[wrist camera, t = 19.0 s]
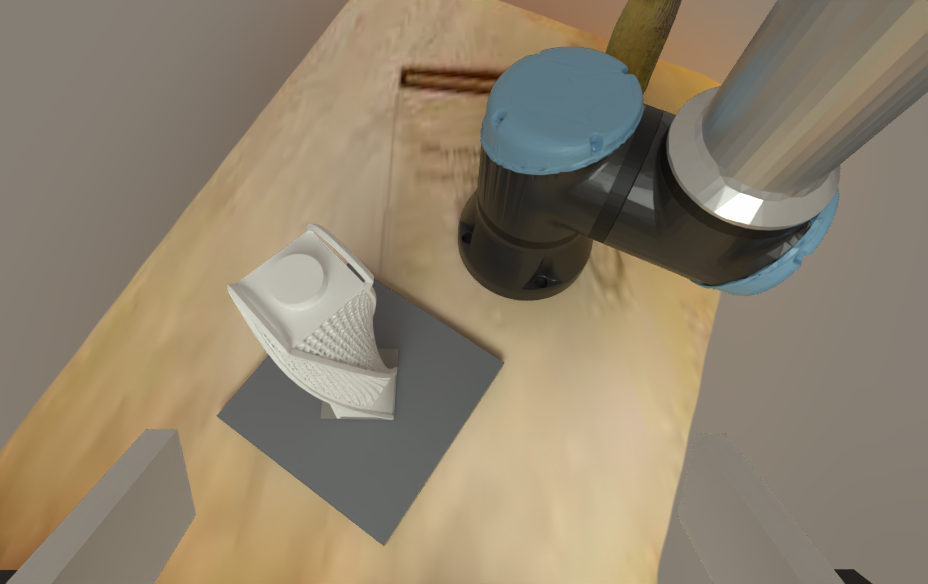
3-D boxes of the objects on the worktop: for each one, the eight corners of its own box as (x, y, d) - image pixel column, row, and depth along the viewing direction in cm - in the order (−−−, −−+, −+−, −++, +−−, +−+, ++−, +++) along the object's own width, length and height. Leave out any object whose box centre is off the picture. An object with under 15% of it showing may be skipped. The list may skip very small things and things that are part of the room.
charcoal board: (351, 268, 57) (349, 262, 56) (502, 366, 53) (504, 362, 52) (222, 418, 50) (216, 416, 49) (385, 544, 46) (383, 545, 45)
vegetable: (596, 129, 66) (654, -19, 48) (580, 93, 68) (629, -60, 50) (639, 121, 67) (712, -28, 48) (622, 86, 69) (685, -68, 51)
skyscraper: (412, 350, 52) (379, 190, 26) (408, 432, 49) (366, 340, 23) (329, 349, 52) (213, 186, 26) (320, 431, 48) (176, 337, 23)
